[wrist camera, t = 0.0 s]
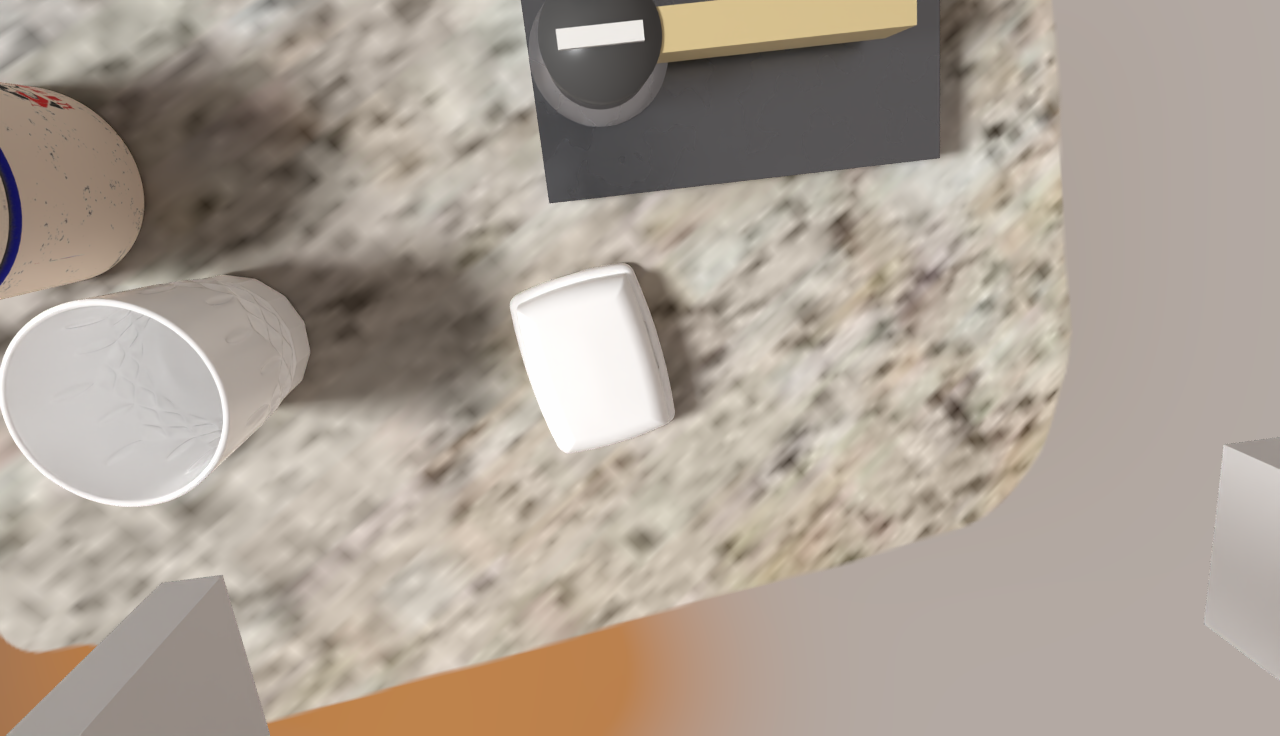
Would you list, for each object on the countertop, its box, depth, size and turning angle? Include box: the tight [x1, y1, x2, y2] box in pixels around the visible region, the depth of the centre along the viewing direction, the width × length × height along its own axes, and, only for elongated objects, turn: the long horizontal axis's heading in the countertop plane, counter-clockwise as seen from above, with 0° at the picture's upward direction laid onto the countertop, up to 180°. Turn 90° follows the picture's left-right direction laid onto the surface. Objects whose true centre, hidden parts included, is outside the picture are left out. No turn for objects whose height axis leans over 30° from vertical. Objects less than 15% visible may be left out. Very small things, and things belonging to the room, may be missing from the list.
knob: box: [538, 0, 917, 110], centre depth 30 cm, size 14×5×5 cm, turn 96°
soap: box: [510, 263, 675, 453], centre depth 37 cm, size 9×7×3 cm
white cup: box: [0, 275, 310, 507], centre depth 32 cm, size 8×8×10 cm
